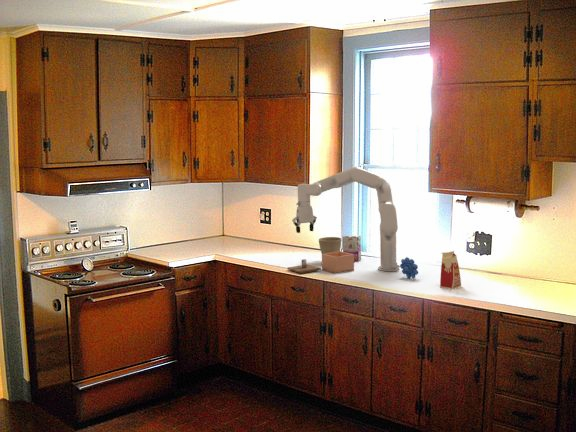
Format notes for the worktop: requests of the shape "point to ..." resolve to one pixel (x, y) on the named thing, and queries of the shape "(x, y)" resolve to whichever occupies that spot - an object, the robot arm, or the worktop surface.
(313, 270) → the lid
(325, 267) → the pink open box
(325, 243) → the plant pot
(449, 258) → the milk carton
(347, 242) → the candy bar box
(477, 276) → the worktop surface
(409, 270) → the grapes
